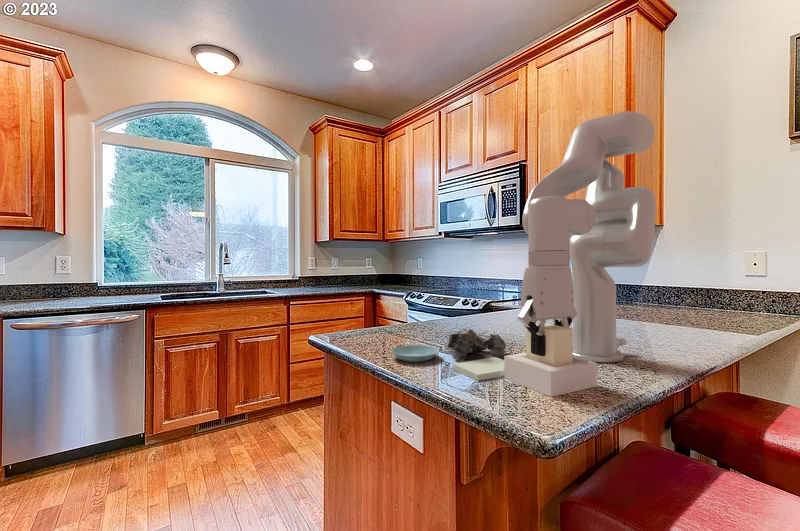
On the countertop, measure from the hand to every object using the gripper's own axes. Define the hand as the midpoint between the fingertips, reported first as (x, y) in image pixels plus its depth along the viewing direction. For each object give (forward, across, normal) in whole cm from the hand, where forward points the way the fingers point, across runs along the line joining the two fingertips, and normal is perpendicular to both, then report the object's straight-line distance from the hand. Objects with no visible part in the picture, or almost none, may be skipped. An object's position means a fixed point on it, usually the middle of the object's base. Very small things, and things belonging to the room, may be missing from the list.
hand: (548, 352), depth 74 cm
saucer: (+6, +15, -28) cm, 32 cm away
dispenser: (+6, 0, 0) cm, 6 cm away
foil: (+6, +1, -22) cm, 23 cm away
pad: (+6, +6, -12) cm, 14 cm away
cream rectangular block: (+6, 0, 0) cm, 6 cm away
